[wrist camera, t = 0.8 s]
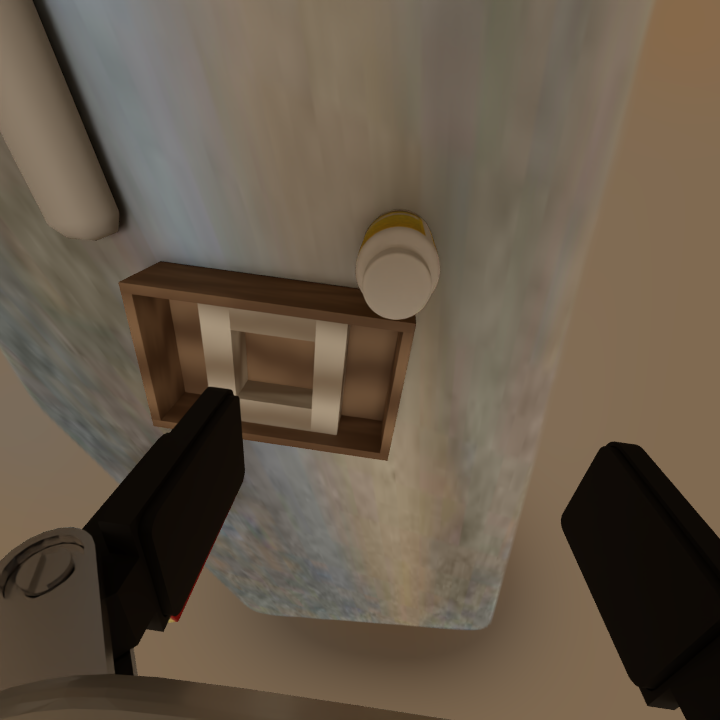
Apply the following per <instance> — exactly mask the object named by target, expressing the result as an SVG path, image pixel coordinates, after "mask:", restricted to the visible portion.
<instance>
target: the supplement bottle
mask: <svg viewBox="0 0 720 720" xmlns="http://www.w3.org/2000/svg"><path fill="white" fill-rule="evenodd" d="M439 276H440V261H439V256H438V253H437V250H436V247H435V243H434V240H433V237H432V234H431V231H430V229H429V227H428V225H427V224H426V222H425V221H424V220H423V219H422V218H421V217H419V216H418V215H416V214H415V213H413V212H410V211H407V210H393V211H389V212H386V213H384V214H382V215H381V216H379V217H378V218H377V219H375V221H374V222H373V223H372V224H371V225H370V227H369V228H368V230H367V232H366V234H365V237H364V240H363V243H362V245H361V248H360V251H359V254H358V257H357V261H356V279H357V283H358V286H359V288H360V290H361V292H362V293H363V296H364V299H365V301H366V303H367V304H368V306H369V307H370V308H371V309H372V310H373V311H374V312H375V313H376V314H378V315H380V316H382V317H384V318H388V319H393V320H400V319H405V318H409V317H411V316H413V315H415V314H417V313H418V312H419V311H421V310H422V309H423V308H424V306H425V305H426V304H427V302H428V300H429V298H430V295H431V294H432V293H433V291H434V290H435V288H436V286H437V283H438V280H439Z"/></svg>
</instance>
